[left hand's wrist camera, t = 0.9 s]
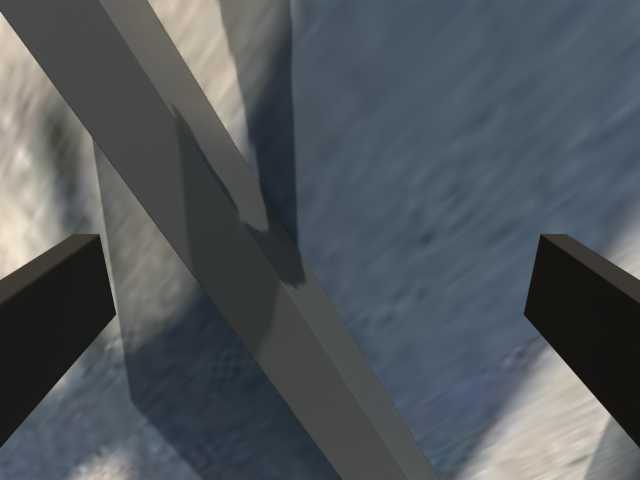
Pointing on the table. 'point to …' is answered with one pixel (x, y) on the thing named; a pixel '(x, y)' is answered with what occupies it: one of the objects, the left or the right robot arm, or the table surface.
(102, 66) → the beam
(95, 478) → the table surface
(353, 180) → the table surface
